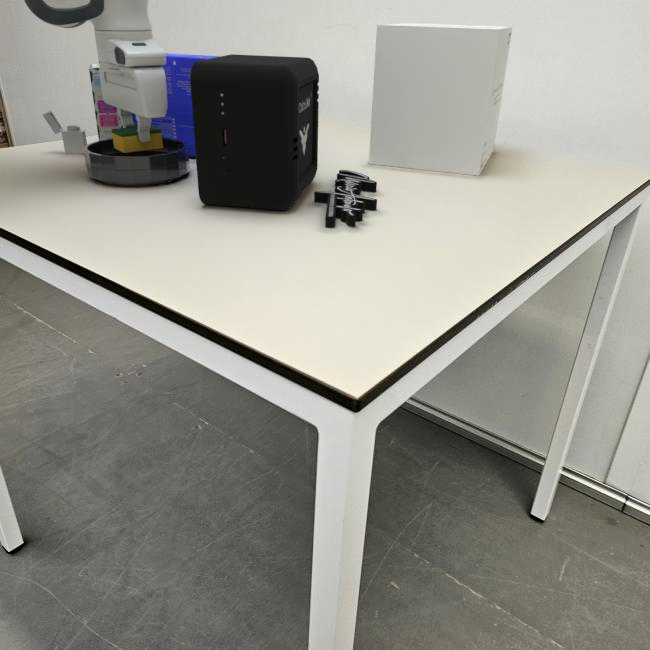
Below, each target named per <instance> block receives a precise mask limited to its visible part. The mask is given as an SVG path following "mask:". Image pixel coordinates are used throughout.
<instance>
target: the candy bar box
mask: <svg viewBox="0 0 650 650" xmlns="http://www.w3.org/2000/svg"><path fill="white" fill-rule="evenodd" d="M88 71H89V79H90V87H91V92H92V101H93V107H94V108H93V109H94V115H95V122H96V123H95V124H96V130H97V136H98V141H100V140H106V139H112V138H113V136H112V130H111V129H118V128H123V125H122V122H121V120H120V117H119V115H118V109H117V107H114V106H111V105H108V104H106V103H105V102H104V100H103V97H102V92H101V83H100V72H99V63H90V64H89V67H88Z"/></svg>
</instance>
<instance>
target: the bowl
mask: <svg viewBox="0 0 650 650" xmlns="http://www.w3.org/2000/svg"><path fill="white" fill-rule="evenodd" d="M162 143H163V148H161V149H153V150H145V151H136V152H128V153H123V152H121V151H119V150H117V149H115V148H114V143H113V138H112V139H106V140H100V141H99V140H97V141H93V142H90V143H87V145H86V146H84V154H83V155H84V161H85V168H86V172H87V176H88V177H90V178H92V179H93V180H97V181H98V182H100V183H104V184H106V185H112V186H122V187H142V186H153V185H161V184H166V183H170V182H173V181H176V180H179V179H180V178H181V177H183V176H184V175H187V174H188V173H189V172H190V170H191V167H190V157H189V152H188V145H187V144H186V142H183V141H180V140H177V139H171V138H163V137H162Z"/></svg>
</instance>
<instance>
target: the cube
mask: <svg viewBox="0 0 650 650" xmlns="http://www.w3.org/2000/svg"><path fill="white" fill-rule="evenodd" d="M512 32H513V26H508V25H507V26H504V25H476V24H475V25H474V24H473V25H471V24H449V23H420V22H419V23H418V22H417V23H416V22H403V23H389V24H388V23H387V24H385V23H383V24H376V34H375V35H376V36H375V51H374V68H373V86H372V100H371V101H372V104H371V121H370V135H369V136H370V137H369V139H370V140H369V154H368V155H369V156H368V165H375V166H384V167H393V168H402V169H403V168H404V169H413V170H423V171H430V172H431V171H432V172H441V173H451V174H458V175H459V174H460V175H469V176H480V174H481V173H482V171H483V169H484V168H485V166H486V165H487V163H488V161H489V159H490V158H491V156H492V154H493V153H494V150H495V143H496V137H497V130H498V122H499V118H500V110H501V105H502V98H503V91H504V85H505V78H506V71H507V64H508V60H509V51H510V46H511V38H512Z"/></svg>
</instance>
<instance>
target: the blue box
mask: <svg viewBox="0 0 650 650" xmlns="http://www.w3.org/2000/svg"><path fill="white" fill-rule="evenodd" d="M165 53H166V65H161V66H162V67H163V69H164V72H165V76H166V85H167V101H168V108H167V113H166V115H165V116H164V117H158V118H151V119H152V121H151V126H153V127H156V128H159V129H161V134H162V137H163V138H171V139H177V140H180V141H183V142H186V144H187V145H188V152H189V158H195V159H196V151H195V137H194V124H193V110H192V97H191V83H190V75H191V69H192V66H193V64H194V63H195V62H196V61H201V60H206V59H211V58H216V57H221V56H222V55H219V56H218V55H204V54H189V53H168V52H165ZM99 63H100V62H99V61H98V64H99ZM132 118H133V122H134V125H136V127H138V121H137V120H136V115H135V114H134V113H132Z"/></svg>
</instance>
